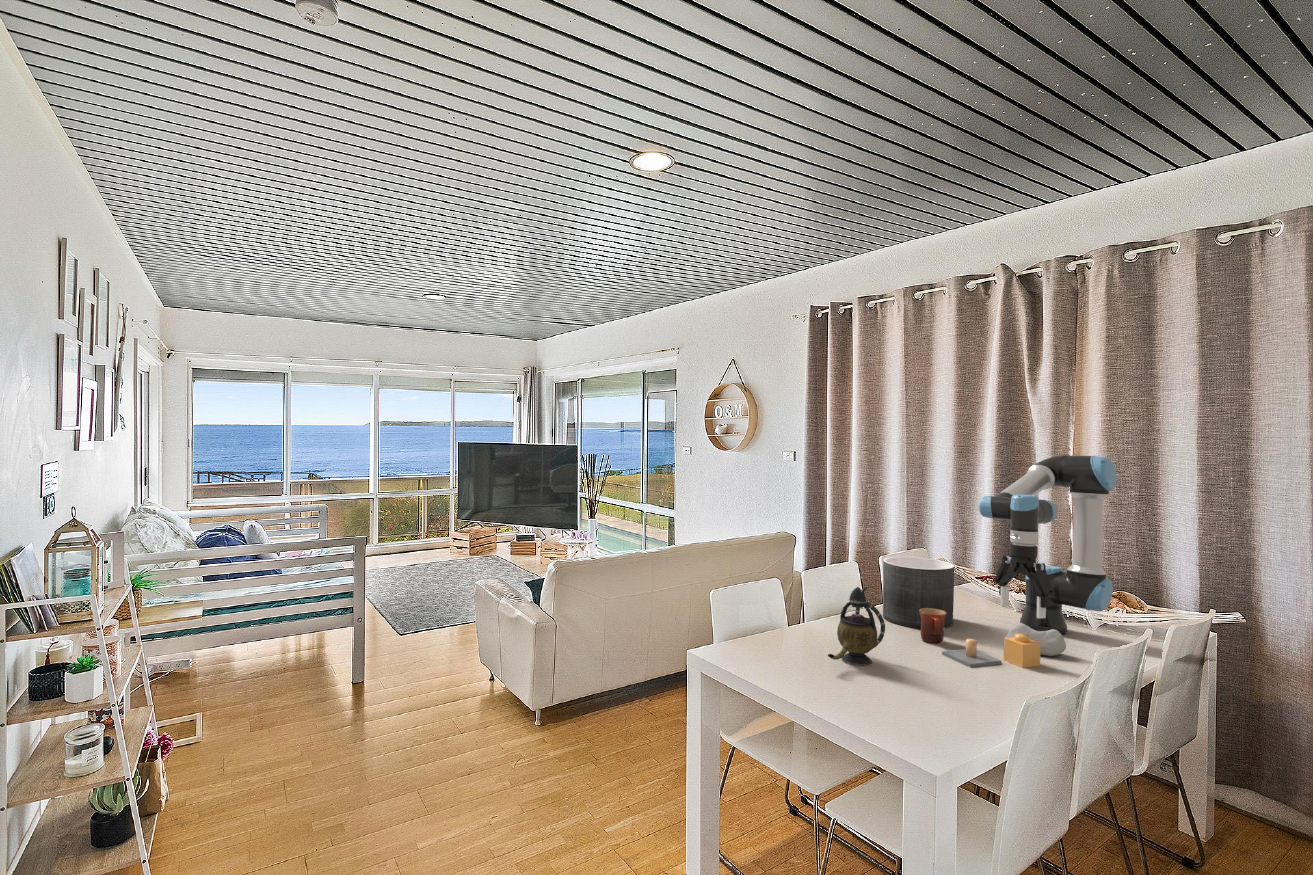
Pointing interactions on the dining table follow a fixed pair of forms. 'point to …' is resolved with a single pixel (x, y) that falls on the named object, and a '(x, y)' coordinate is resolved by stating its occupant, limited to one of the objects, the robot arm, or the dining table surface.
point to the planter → (916, 589)
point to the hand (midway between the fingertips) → (1022, 612)
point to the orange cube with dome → (1022, 651)
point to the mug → (932, 625)
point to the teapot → (858, 631)
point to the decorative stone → (1041, 639)
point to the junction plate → (971, 660)
